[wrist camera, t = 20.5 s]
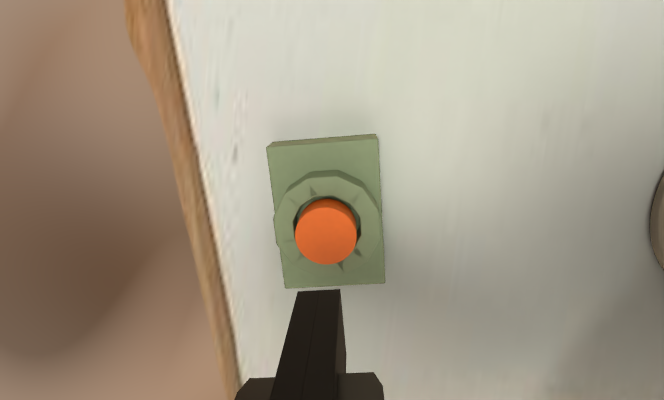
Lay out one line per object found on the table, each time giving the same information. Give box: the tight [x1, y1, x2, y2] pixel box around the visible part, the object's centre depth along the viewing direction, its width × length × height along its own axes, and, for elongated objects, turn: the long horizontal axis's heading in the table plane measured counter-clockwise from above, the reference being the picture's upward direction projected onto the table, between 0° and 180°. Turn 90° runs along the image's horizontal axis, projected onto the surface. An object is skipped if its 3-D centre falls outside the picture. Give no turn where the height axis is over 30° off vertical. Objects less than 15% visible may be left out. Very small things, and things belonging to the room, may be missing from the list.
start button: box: [295, 199, 357, 264], centre depth 23 cm, size 4×4×2 cm
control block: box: [266, 134, 385, 288], centre depth 26 cm, size 10×7×4 cm
